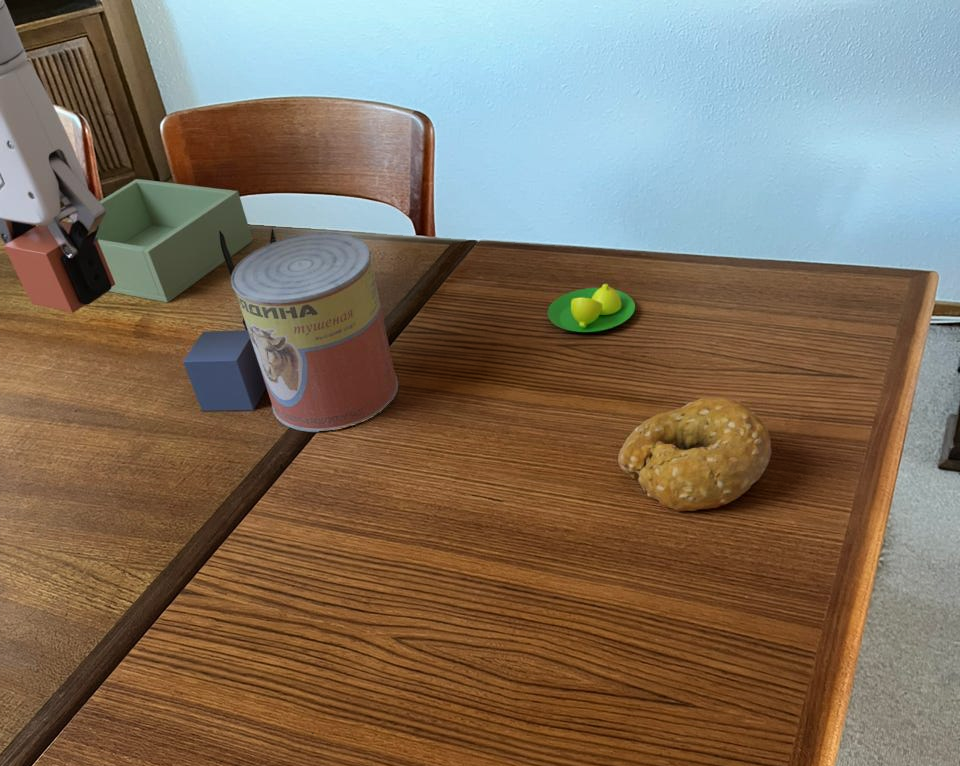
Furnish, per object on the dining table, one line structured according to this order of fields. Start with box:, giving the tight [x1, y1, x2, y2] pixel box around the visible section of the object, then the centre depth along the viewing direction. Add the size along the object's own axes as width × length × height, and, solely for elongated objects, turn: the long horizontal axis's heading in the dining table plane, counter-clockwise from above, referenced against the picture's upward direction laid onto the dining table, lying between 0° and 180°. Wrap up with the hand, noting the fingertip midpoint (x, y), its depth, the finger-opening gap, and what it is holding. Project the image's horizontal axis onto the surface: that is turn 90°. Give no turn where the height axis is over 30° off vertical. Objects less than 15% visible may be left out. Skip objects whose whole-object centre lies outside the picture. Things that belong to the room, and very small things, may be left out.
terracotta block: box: [3, 220, 115, 314], centre depth 79 cm, size 5×5×5 cm
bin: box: [65, 178, 254, 303], centre depth 107 cm, size 16×15×6 cm
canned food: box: [230, 231, 399, 433], centre depth 81 cm, size 11×11×12 cm
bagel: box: [617, 396, 772, 512], centre depth 70 cm, size 10×11×5 cm
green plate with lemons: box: [547, 283, 636, 333], centre depth 88 cm, size 8×8×3 cm
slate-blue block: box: [182, 329, 267, 412], centre depth 86 cm, size 5×5×5 cm
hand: (71, 289), depth 80 cm, fingers closed on terracotta block, 5 cm apart
